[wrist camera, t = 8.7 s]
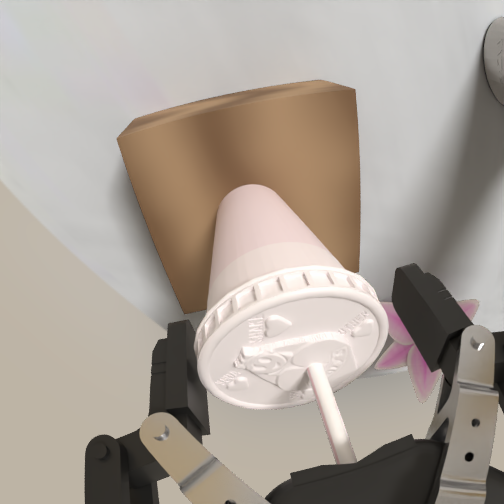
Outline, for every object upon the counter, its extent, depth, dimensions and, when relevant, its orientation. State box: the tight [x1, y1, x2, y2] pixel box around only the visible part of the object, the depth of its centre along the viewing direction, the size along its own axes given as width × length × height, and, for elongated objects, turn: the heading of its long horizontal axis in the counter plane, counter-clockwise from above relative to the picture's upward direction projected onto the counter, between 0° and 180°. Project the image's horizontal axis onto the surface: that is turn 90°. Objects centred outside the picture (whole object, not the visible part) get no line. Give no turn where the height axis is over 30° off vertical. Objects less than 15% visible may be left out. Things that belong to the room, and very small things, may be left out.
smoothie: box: [194, 184, 389, 464], centre depth 12 cm, size 6×6×14 cm
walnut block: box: [117, 80, 360, 314], centre depth 20 cm, size 12×12×5 cm
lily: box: [375, 299, 479, 403], centre depth 30 cm, size 12×12×10 cm
